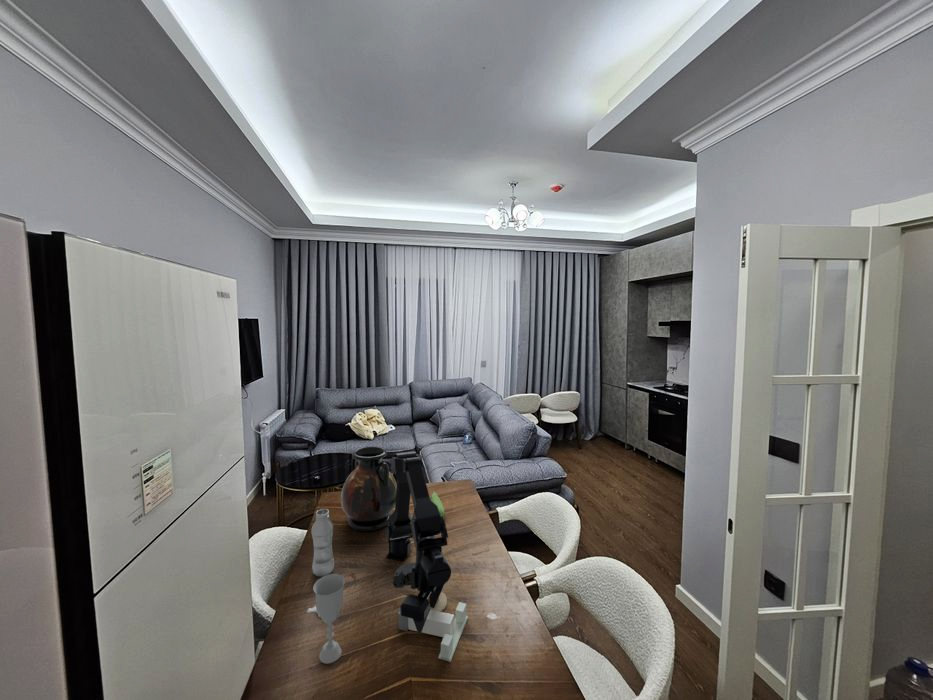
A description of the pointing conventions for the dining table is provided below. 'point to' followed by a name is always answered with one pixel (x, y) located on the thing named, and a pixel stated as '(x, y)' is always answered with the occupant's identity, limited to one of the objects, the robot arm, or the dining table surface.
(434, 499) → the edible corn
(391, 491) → the amphora vase
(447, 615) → the mallet
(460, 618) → the notched board
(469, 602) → the dining table surface
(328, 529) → the plastic bottle
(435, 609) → the bobbin
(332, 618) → the chalice
